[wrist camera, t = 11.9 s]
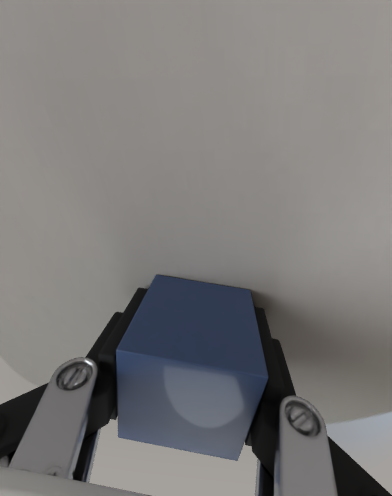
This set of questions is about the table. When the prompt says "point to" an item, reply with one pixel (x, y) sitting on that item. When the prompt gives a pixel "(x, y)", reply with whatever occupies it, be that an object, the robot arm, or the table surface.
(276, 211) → the table surface
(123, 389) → the block
